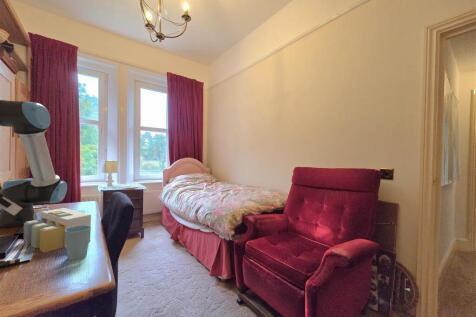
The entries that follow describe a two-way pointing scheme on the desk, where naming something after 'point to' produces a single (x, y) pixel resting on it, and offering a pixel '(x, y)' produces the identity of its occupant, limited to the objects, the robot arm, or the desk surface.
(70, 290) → the desk surface
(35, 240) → the pale green block
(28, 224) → the grey square block
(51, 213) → the console
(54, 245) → the yellow square block
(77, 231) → the cup
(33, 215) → the watch
